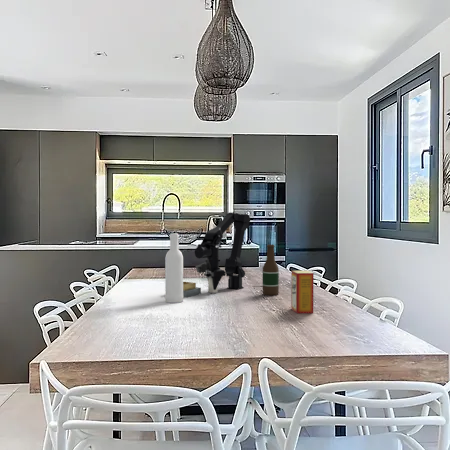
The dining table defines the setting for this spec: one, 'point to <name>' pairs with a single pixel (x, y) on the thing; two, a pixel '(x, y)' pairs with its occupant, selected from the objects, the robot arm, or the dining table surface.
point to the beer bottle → (270, 274)
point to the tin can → (211, 286)
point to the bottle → (174, 272)
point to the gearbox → (190, 289)
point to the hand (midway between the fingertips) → (212, 288)
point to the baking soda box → (302, 291)
